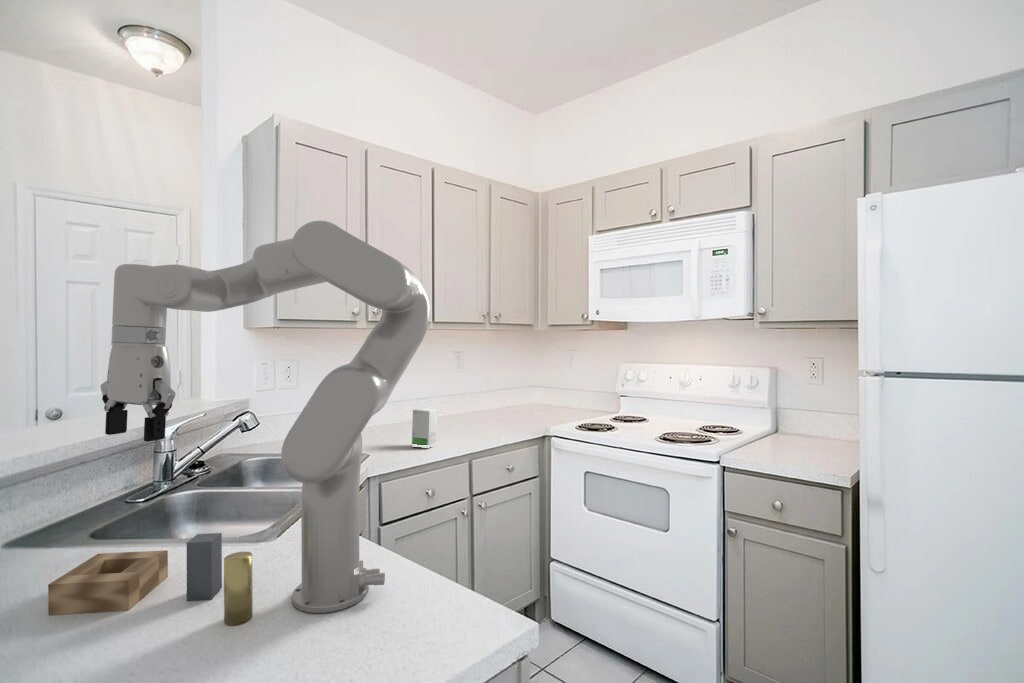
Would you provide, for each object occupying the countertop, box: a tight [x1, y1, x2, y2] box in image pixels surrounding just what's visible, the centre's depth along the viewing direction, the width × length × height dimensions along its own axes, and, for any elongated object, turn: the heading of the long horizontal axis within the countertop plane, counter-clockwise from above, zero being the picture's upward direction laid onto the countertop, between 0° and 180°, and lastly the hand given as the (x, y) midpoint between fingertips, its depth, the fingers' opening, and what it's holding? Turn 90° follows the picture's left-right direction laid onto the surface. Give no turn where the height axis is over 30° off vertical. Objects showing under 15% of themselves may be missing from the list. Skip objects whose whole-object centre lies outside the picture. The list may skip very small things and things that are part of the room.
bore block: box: [47, 550, 169, 616], centre depth 90 cm, size 12×12×5 cm
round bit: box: [223, 551, 254, 627], centre depth 82 cm, size 4×4×10 cm
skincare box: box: [411, 407, 438, 445], centre depth 211 cm, size 8×7×16 cm
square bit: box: [186, 532, 223, 602], centre depth 90 cm, size 4×4×10 cm
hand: (134, 436), depth 88 cm, fingers open, 9 cm apart
